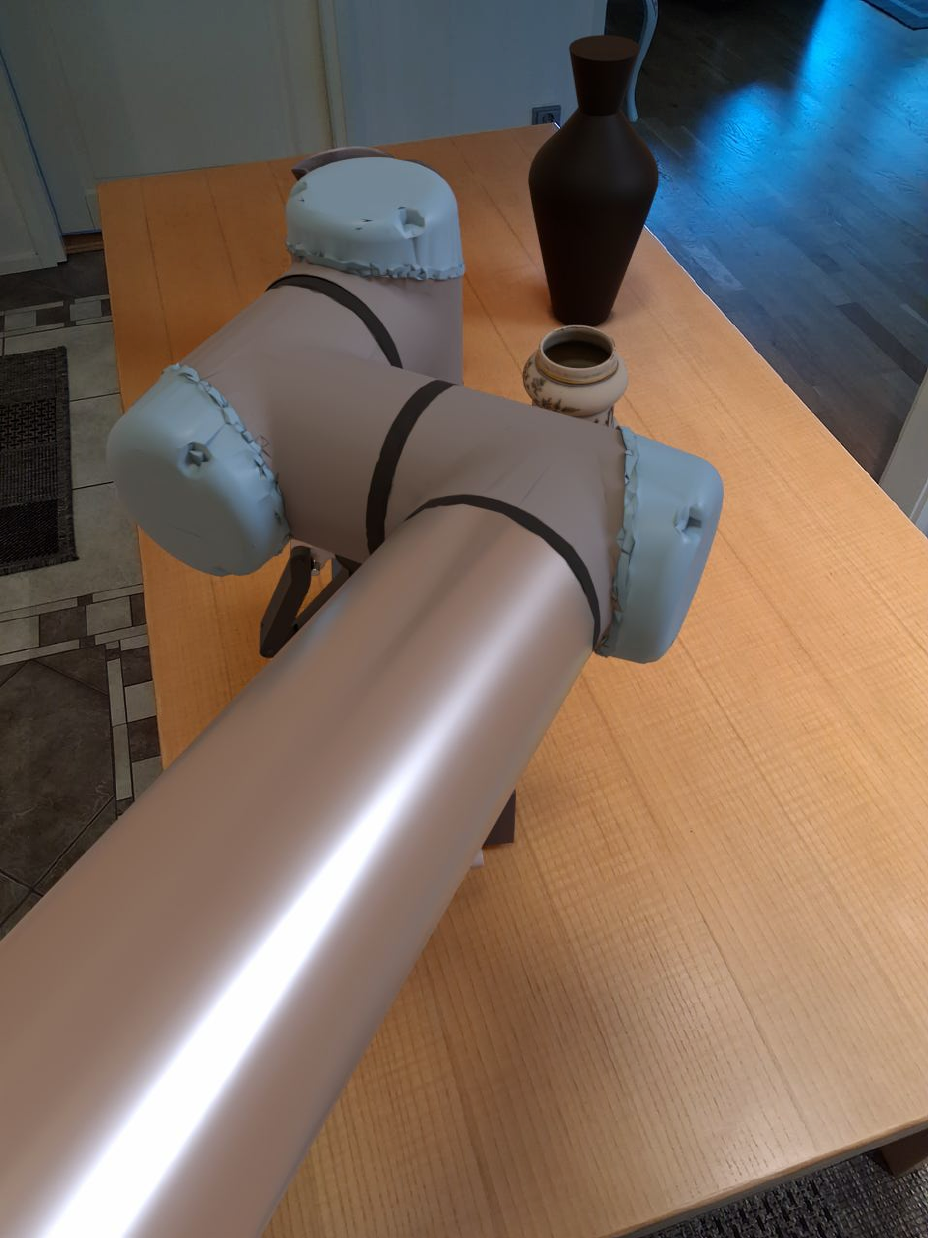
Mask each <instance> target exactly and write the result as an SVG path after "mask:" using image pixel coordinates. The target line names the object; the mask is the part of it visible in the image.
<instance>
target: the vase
mask: <svg viewBox="0 0 928 1238" xmlns="http://www.w3.org/2000/svg"><path fill="white" fill-rule="evenodd" d="M568 50H569V57H570V63H571V69H572V76H573V77H572V78H573V84H574V89H575V95H576V102H577V108H576V109H575V110H574V111H573V113H572V114H571V115H570V116H569V118H568V119H567V120H566V121H565V122H564V123H563V124H562V126H561V127H560V128H559V129H557V131H556V132H554V134H552V135H551V136H550V137H549V138H548V139H547V140H546V141H545V142H544V144H542V146H540V147H539V149H538V150H537V152H536V154H534V157H533V159H532V161H531V163H530V167H529V170H528V178H527V184H528V190H529V196H530V201H531V208H532V213H533V218H534V219H533V220H534V223H535V224H534V225H535V228H536V234H537V239H538V245H539V250H540V254H541V258H542V264H543V269H544V273H545V274H544V275H545V278H546V284H547V290H548V293H549V294H548V295H549V298H550V304H551V309H552V313H553V316H554V317H553V318H555V319H556V320H557V321H558V322H559V323H560V324H563V326H570V325H584V326H590V327H594V328H595V327H598V326H600V325H602V324H604V323H605V322H606V321H607V320H608V319H609V317H610V315H611V312H612V310H613V307H614V305H615V302H616V299H617V296H618V294H619V291H620V289H621V287H622V284H623V282H624V279H625V276H626V274H627V270H628V268H629V266H630V264H631V260H632V258H633V255H634V252H635V250H636V248H637V245H638V242H639V240H640V237H641V234H642V232H643V229H644V226H645V224H646V221H647V219H648V216H649V214H650V211H651V208H652V205H653V202H654V199H655V197H656V195H657V194H656V193H657V191H658V188H659V180H660V179H659V177H660V175H659V168H658V163H657V160H656V158H655V156H654V154H653V152H652V151H651V149H650V148H649V145H647V144H646V142H645V141H644V140H643V138H642V137H641V136H640V135H639V134H638V132H637V131H636V130H635V128H634V127H633V125H632V124H631V123H630V121H629V120H628V118H627V116H626V115H625V114H624V112H623V110H622V106H623V105H622V104H623V102H624V99H625V96H626V94H627V90H628V87H629V84H630V81H631V78H632V75H633V72H634V69H635V66H636V63H637V61H638V57H639V54H640V51H641V46H640V45H639V43H638V42H636V41H635V40H633V39H630V38H627V37H624V36H617V35H610V34H609V35H608V34H607V35H605V34H601V35H589V36H584V37H580V38H577V39H575V40H574V41H572V42H571V43H570V44H569V47H568Z"/></svg>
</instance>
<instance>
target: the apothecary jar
mask: <svg viewBox="0 0 928 1238" xmlns="http://www.w3.org/2000/svg"><path fill="white" fill-rule="evenodd" d="M522 384H523V387H524V390H525V392H526V394H527V395H528V397H529V398H530V399H531V405H532V406H536V407H539V408H543V409H547V410H550V411H554V412H557V413H561V414H564V415H568V416H572V417H575V418H579V419H582V420H586V421H589V422H593V423H597V424H600V425H604V426H607V427H611V428H615V429H616V426H621V425H620V423H619V420H617V418H616V416H615V415H614V413H615V405H616V403H618V402H619V401H620V399H621V398H622V397H623V396H624V394H625V392H626V390H627V387H628V385H629V370H628V367H627V365H626V363H625V361H624V359H623V358H622V357H621V356H620V355H619V353H618V352H617V346H616V343H615V341H614V339H613V338H612V336H611V335H610V334H609V333H607V332H605V330H602V329H599V328H596V327H595V326H594V327H590V326H584V325H570V326H567V325H563V326H560V327H557V328H555V329H552V330H551V331H549V332H548V333H546V334H545V335H544V336H543V338H542V339H540V342H539V344H538V349H536V350H535V351H534V352H533V353H532V354H531V355H530V356H529V357H528V359H527V360H526V361H525V364H524V366H523V370H522Z"/></svg>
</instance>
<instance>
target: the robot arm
mask: <svg viewBox="0 0 928 1238" xmlns="http://www.w3.org/2000/svg"><path fill="white" fill-rule="evenodd" d="M442 177H443V176H442ZM442 177H440V176H439V175H438V174H437V173H435V172H434V171H432V170H430V169H428V168H426V167H424V166H422V165H420V164H416V163H413V162H409V161H403V159H398V158H396V159H393V158H387V157H365V158H353V159H347V160H342V161H337V162H333V163H330V164H327V165H325V166H322V167H319V168H317V169H315V170H313V171H311V172H309V173H308V174H306V175H305V176H304V177H302V178H301V179H300V180H299V181H296V183H294V184H293V186H292V188H291V190H290V192H289V197H288V198H287V201H286V203H285V211H284V214H285V220H286V222H285V223H286V232H287V235H286V237H285V242H284V244H285V246H286V248H287V250H286V251H287V252H288V253H289V255H290V260H291V263H290V267H289V268H288V269H287V270H286V271H284V272H283V273H282V274H280V276H278V277H277V278H276V279H274V281H271V283H270V284H269V285H268V287H267V288H266V290H265V291H264V292H263V293H262V294H261V295H259V296H258V297H257V298H256V299H255V300H254V301H252V302H251V303H250V304H248V306H246V307H245V308H244V309H243V310H241V311H240V312H239V313H238V314H236V315H235V316H234V317H233V318H232V319H230V320H229V321H228V322H227V323H226V324H224V325H223V326H222V327H221V328H219V329H218V330H217V331H215V332H214V333H213V334H212V335H211V336H209V337H208V338H207V339H206V340H204V341H203V342H201V344H199V345H198V346H197V347H196V348H195V349H193V350H192V351H191V352H189V353H188V354H187V355H186V356H184V357H183V358H182V359H181V360H179V361H178V362H176V363H175V364H169V365H168V366H167V367H165V368H163V370H162V371H161V374H160V376H159V379H158V380H157V381H155V382H154V384H152V386H151V387H149V388H148V389H147V390H145V392H144V393H143V394H142V395H140V396H139V397H138V399H136V400H135V401H134V402H133V403H132V404H131V405H130V406H129V409H128V410H127V411H126V412H125V413H123V414H122V415H121V416H120V417H119V419H118V420H116V422H115V423H114V424H113V426H112V428H111V430H110V433H109V434H108V437H107V440H106V441H107V442H106V446H105V462H106V468H107V471H108V475H109V477H110V479H111V481H112V482H113V485H114V486H115V488H116V491H117V497H118V499H119V500H120V502H121V504H122V505H123V507H124V509H125V510H126V512H127V513H128V514H129V516H130V517H131V519H132V520H133V521H134V522H135V524H136V525H137V526H138V527H139V528H140V530H142V531H143V532H144V534H145V535H146V536H148V537H149V538H150V539H151V540H152V541H153V542H154V543H155V544H156V545H157V546H159V548H161V549H162V550H163V551H165V552H166V553H167V554H169V555H170V556H172V557H173V558H175V559H176V560H178V561H179V562H181V563H183V564H184V565H186V566H188V567H190V568H192V569H194V570H197V571H199V572H201V573H204V574H207V575H211V576H214V577H220V578H224V577H228V576H231V575H234V576H237V577H243V576H249V575H251V574H254V573H256V572H257V571H258V570H260V569H261V568H262V567H263V566H265V565H266V564H267V563H268V562H269V561H270V560H271V559H273V558H274V557H278V556H279V555H281V554H283V552H284V550H285V548H286V547H287V545H289V558H288V560H287V562H286V565H285V567H284V569H283V571H282V574H281V575H280V578H279V580H278V582H277V584H276V587H275V589H274V591H273V594H272V596H271V598H270V600H269V603H268V604H267V606H266V609H265V611H264V614H263V616H262V618H261V621H260V623H259V647H258V648H259V651H258V653H259V656H261V657H262V658H265V659H270V660H269V661H268V662H267V663H266V664H265V665H264V666H263V667H262V668H261V669H260V670H259V671H258V672H257V673H256V674H255V676H254V677H253V678H252V679H251V680H249V681H248V683H247V684H246V685H245V686H244V687H243V688H242V689H241V690H240V691H239V692H238V693H237V695H235V696H234V698H232V700H231V701H229V702H228V703H227V705H225V707H224V708H223V709H222V710H221V711H220V712H219V713H217V715H216V716H215V717H214V718H213V719H212V720H211V721H210V723H208V725H206V727H204V728H203V730H202V731H200V733H199V734H198V735H197V736H196V737H195V738H194V739H193V740H192V741H191V742H190V743H189V744H188V745H187V746H186V748H184V750H183V751H182V752H181V753H180V754H179V755H178V756H177V757H176V758H175V759H174V760H173V761H172V762H171V763H170V764H169V765H168V766H167V767H166V768H165V769H164V770H163V771H162V772H161V774H159V775H158V777H157V778H155V779H154V780H153V782H152V783H151V784H150V785H149V786H148V787H147V788H146V789H145V790H144V791H143V792H142V793H141V794H140V795H139V797H137V799H135V801H134V802H132V804H131V805H130V806H129V807H127V809H126V810H125V811H124V812H123V813H122V814H121V815H120V816H119V817H118V818H116V820H115V821H114V822H113V823H112V824H111V825H110V827H108V828H107V830H106V831H105V832H104V833H103V834H102V835H101V836H100V837H99V838H98V839H97V840H96V841H95V842H94V843H93V844H92V845H91V846H90V847H89V849H88V850H86V852H85V853H84V854H83V855H82V856H80V858H79V859H78V860H77V861H76V862H75V863H74V864H73V865H72V866H71V867H70V868H69V869H68V870H67V872H65V873H64V874H63V875H62V876H61V877H60V878H59V880H58V881H57V882H56V883H54V885H53V886H52V887H51V888H50V889H49V890H48V891H47V892H46V893H45V894H44V895H43V896H42V897H41V898H40V900H38V902H36V903H35V904H34V905H33V907H32V908H31V909H30V910H29V911H27V913H26V914H25V915H24V916H23V917H22V918H21V919H20V921H18V922H17V924H15V925H14V926H13V928H12V929H11V930H10V931H9V932H8V933H6V934H5V936H4V937H3V938H2V939H1V940H0V1238H261V1237H262V1236H263V1234H264V1232H265V1230H266V1228H267V1227H268V1225H269V1224H270V1222H271V1220H272V1218H273V1216H274V1214H275V1213H276V1211H277V1209H278V1208H279V1206H280V1204H281V1202H282V1200H283V1198H284V1196H285V1195H286V1193H287V1191H288V1190H289V1188H290V1187H291V1184H292V1183H293V1182H294V1179H295V1177H296V1176H297V1174H298V1172H299V1170H300V1168H301V1167H302V1165H303V1163H304V1162H305V1160H306V1158H307V1156H308V1154H309V1152H310V1151H311V1149H312V1147H313V1146H314V1144H315V1142H316V1140H317V1138H318V1137H319V1135H320V1133H321V1132H322V1130H323V1128H324V1127H325V1125H326V1123H327V1121H328V1119H329V1117H330V1116H331V1114H332V1112H333V1110H334V1109H335V1107H336V1105H337V1104H338V1101H339V1100H340V1098H341V1096H342V1094H343V1092H344V1091H345V1089H346V1088H347V1086H348V1084H349V1082H350V1081H351V1078H352V1077H353V1075H354V1073H355V1072H356V1070H357V1068H358V1066H359V1065H360V1063H361V1061H362V1059H363V1057H364V1056H365V1054H366V1052H367V1051H368V1049H369V1046H370V1045H371V1043H372V1041H373V1040H374V1038H375V1036H376V1034H377V1033H378V1031H379V1029H380V1027H381V1025H382V1024H383V1022H384V1020H385V1018H386V1017H387V1015H388V1013H389V1012H390V1009H391V1008H392V1006H393V1005H394V1002H395V1001H396V999H397V998H398V996H399V994H400V992H401V990H402V988H403V987H404V985H405V983H406V981H407V980H408V978H409V976H410V975H411V973H412V971H413V969H414V968H415V966H416V964H417V962H418V960H419V959H420V957H421V955H422V954H423V952H424V949H425V948H426V946H427V945H428V942H429V941H430V939H431V937H432V936H433V934H434V932H435V930H436V928H437V927H438V925H439V923H440V921H441V920H442V919H443V916H444V914H445V912H446V911H447V909H448V907H449V906H450V904H451V902H452V900H453V898H454V897H455V895H456V893H457V892H458V890H459V888H460V886H461V885H462V883H463V881H464V879H465V877H466V875H468V873H469V870H470V869H471V868H470V867H471V865H472V863H473V861H474V860H475V858H476V856H477V854H478V853H479V851H480V849H482V848H483V847H484V846H483V844H484V842H485V840H486V839H487V837H488V835H489V833H490V831H491V830H492V828H493V826H494V824H495V823H496V821H497V819H498V817H499V816H500V814H501V812H502V810H503V809H504V807H505V805H506V803H507V801H508V800H509V798H510V796H511V794H512V793H513V791H514V789H515V790H516V788H517V785H518V784H519V782H520V781H521V779H522V777H523V775H524V773H525V772H526V770H527V768H528V767H529V765H530V762H531V761H532V759H533V757H534V756H535V754H536V752H537V750H538V748H539V747H540V745H541V743H542V741H543V740H544V739H545V736H546V735H547V733H548V732H549V731H548V730H550V727H551V726H552V723H553V722H554V720H555V719H556V716H557V715H558V714H559V712H560V710H561V708H562V707H563V704H564V702H565V701H566V699H567V697H568V696H569V695H570V692H571V690H572V689H573V686H574V685H575V683H576V682H577V680H578V678H579V676H580V675H581V673H582V671H583V669H584V667H585V665H586V664H587V662H588V660H589V659H590V657H591V656H592V655H593V653H594V654H595V655H597V656H599V657H602V658H604V659H608V658H609V657H610V658H615V659H619V660H623V661H628V662H632V663H636V664H641V665H645V664H650V663H656V662H658V661H660V660H661V659H662V658H663V656H665V655H666V654H667V653H668V651H669V650H670V649H671V647H672V646H673V645H674V643H675V641H676V639H677V637H678V636H679V633H680V631H681V629H682V627H683V625H684V622H685V620H686V617H687V615H688V614H689V610H690V608H691V605H692V603H693V600H694V598H695V595H696V593H697V590H698V587H699V585H700V582H701V579H702V577H703V574H704V572H705V568H706V565H707V562H708V559H709V556H710V553H711V550H712V548H713V543H714V540H715V538H716V535H717V530H718V527H719V523H720V519H721V516H722V510H723V505H724V498H725V488H724V481H723V479H722V476H721V474H720V472H719V470H718V469H717V468H716V467H715V466H714V465H713V464H712V463H711V462H709V461H708V460H707V459H704V458H703V457H700V456H698V455H695V454H693V453H690V452H688V451H684V450H682V449H679V448H676V447H673V446H672V445H671V446H670V445H668V444H665V443H662V442H659V441H657V440H654V439H651V438H649V437H645V436H643V435H641V434H638V433H635V432H634V431H633V430H632V428H631V427H629V426H624V425H620V426H616V429H615V428H611V427H607V426H604V425H600V424H597V423H593V422H589V421H586V420H582V419H579V418H575V417H572V416H568V415H564V414H561V413H557V412H554V411H550V410H547V409H543V408H539V407H536V406H532V404H528V403H526V402H521V401H518V400H514V399H510V398H506V397H503V396H499V395H496V394H493V393H489V392H486V391H481V390H479V389H476V388H475V389H474V388H471V387H467V386H464V385H465V382H464V377H463V376H464V371H463V370H464V367H463V366H464V365H463V364H464V363H463V362H464V359H463V357H464V355H463V352H464V351H463V349H464V348H463V346H464V345H463V343H464V342H463V340H464V339H463V337H464V336H463V328H464V327H463V325H464V324H463V276H464V275H465V273H466V262H465V261H464V259H463V250H462V249H463V248H462V238H461V230H460V229H461V228H460V219H459V218H460V217H459V209H458V202H457V198H456V195H455V193H454V192H453V190H452V188H451V186H450V185H449V183H448V182H447V180H446V179H445V178H444V177H443V178H444V179H445V180H444V179H443V178H442ZM334 558H336V560H337V561H338V562H339V563H340V564H341V565H342V568H341V570H340V572H339V573H338V574H337V575H336V576H335V577H334V578H333V579H332V578H331V580H330V581H329V582H328V583H327V585H325V587H324V588H323V589H322V590H321V591H320V592H319V593H318V594H317V595H316V596H315V597H314V598H313V600H311V602H310V603H309V604H308V605H307V606H306V607H305V608H304V609H303V610H302V611H301V612H300V610H301V607H302V605H303V603H304V602H305V599H306V596H307V595H308V593H309V590H310V588H311V584H312V577H318V576H320V574H321V571H322V570H323V569H324V568H325V566H326V563H327V562H329V560H330V561H331V559H334ZM299 612H300V613H299ZM298 614H299V615H298ZM482 846H483V847H482Z"/></svg>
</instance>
